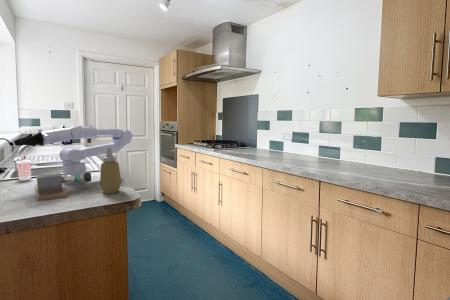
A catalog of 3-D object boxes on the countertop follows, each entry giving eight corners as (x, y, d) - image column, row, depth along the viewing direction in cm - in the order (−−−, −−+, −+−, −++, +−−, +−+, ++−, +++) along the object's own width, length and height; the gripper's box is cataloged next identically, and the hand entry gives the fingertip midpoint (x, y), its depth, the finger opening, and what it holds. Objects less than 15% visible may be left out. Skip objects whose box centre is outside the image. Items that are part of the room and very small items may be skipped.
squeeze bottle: (100, 195, 105) (98, 149, 103) (99, 190, 112) (97, 147, 110) (122, 193, 108) (121, 148, 106) (120, 188, 115) (118, 146, 113)
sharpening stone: (61, 185, 121) (60, 169, 120) (68, 196, 104) (66, 178, 103) (35, 188, 115) (34, 172, 115) (37, 200, 98) (36, 181, 97)
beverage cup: (34, 177, 137) (32, 150, 136) (30, 179, 131) (28, 151, 130) (19, 178, 135) (17, 150, 134) (15, 180, 129) (12, 151, 128)
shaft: (89, 181, 120) (88, 170, 119) (91, 183, 116) (91, 171, 115) (49, 186, 111) (48, 174, 111) (50, 188, 107) (49, 176, 107)
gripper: (45, 128, 124) (9, 134, 113) (58, 126, 115) (21, 132, 105) (49, 143, 125) (14, 150, 115) (62, 142, 116) (26, 149, 106)
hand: (17, 142), depth 110 cm, fingers open, 7 cm apart
